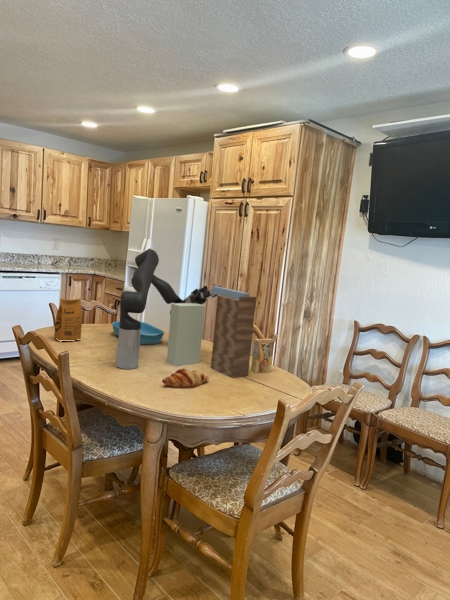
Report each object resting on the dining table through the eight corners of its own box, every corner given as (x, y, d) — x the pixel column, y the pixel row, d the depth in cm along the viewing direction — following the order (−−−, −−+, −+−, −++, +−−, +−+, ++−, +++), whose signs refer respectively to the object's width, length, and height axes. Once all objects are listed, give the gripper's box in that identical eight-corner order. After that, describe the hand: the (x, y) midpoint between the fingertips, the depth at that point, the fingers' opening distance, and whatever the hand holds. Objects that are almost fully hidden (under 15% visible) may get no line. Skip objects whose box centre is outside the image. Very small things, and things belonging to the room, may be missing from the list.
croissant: (203, 387, 180) (201, 369, 182) (216, 383, 172) (213, 364, 175) (158, 392, 168) (156, 372, 170) (170, 388, 160) (167, 367, 162)
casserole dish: (170, 345, 234) (171, 332, 233) (132, 348, 220) (133, 334, 219) (140, 331, 263) (141, 319, 262) (105, 332, 249) (106, 320, 248)
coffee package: (52, 338, 223) (54, 297, 220) (75, 337, 231) (77, 297, 228) (58, 343, 215) (60, 300, 212) (82, 341, 223) (85, 300, 220)
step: (199, 363, 204) (204, 305, 200) (174, 366, 195) (179, 305, 192) (191, 359, 209) (196, 303, 206) (166, 361, 200) (171, 303, 197)
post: (247, 375, 191) (256, 297, 187) (232, 378, 185) (240, 297, 181) (225, 365, 203) (233, 291, 199) (210, 367, 198) (218, 291, 193)
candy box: (266, 369, 204) (269, 338, 203) (271, 371, 201) (274, 340, 199) (250, 370, 200) (254, 338, 198) (255, 373, 196) (259, 340, 194)
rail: (248, 300, 186) (249, 293, 186) (243, 300, 184) (244, 293, 184) (216, 293, 204) (217, 286, 203) (211, 293, 202) (212, 286, 201)
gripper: (182, 292, 211) (200, 280, 199) (205, 293, 220) (223, 280, 208) (185, 306, 209) (203, 294, 197) (208, 306, 218) (227, 295, 206)
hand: (214, 287), depth 203 cm, fingers open, 8 cm apart
